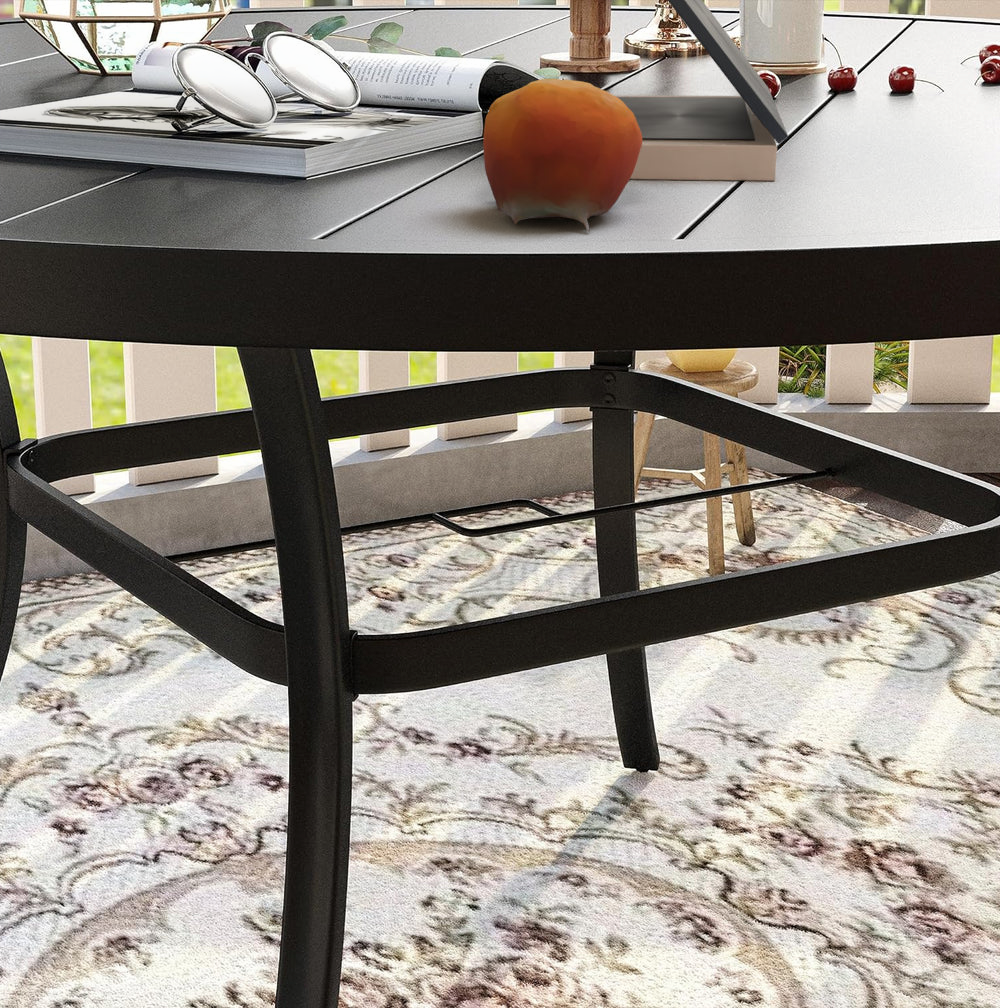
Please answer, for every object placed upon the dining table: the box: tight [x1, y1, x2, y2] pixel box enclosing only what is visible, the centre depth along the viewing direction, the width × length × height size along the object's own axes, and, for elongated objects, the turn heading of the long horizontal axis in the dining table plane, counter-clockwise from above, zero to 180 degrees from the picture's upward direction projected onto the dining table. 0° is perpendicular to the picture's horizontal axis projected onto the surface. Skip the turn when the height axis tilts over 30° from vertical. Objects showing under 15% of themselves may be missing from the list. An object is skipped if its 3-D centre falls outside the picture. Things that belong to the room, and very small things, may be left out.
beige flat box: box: [613, 94, 778, 182], centre depth 91 cm, size 15×22×2 cm
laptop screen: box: [667, 0, 789, 144], centre depth 88 cm, size 15×22×1 cm
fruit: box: [482, 78, 642, 233], centre depth 71 cm, size 8×8×8 cm
